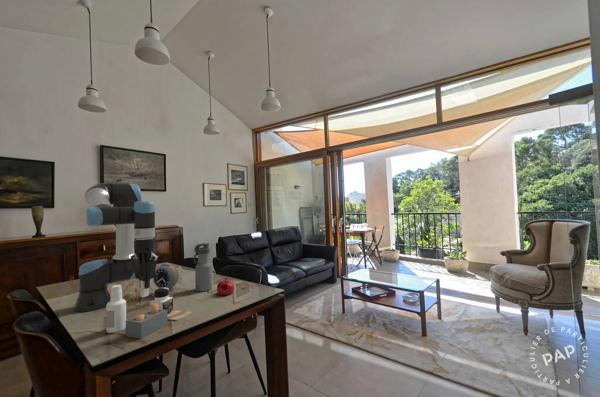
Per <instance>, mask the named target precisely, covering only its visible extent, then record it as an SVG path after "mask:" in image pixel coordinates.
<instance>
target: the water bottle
mask: <svg viewBox="0 0 600 397" xmlns="http://www.w3.org/2000/svg"><path fill="white" fill-rule="evenodd" d="M193 249H194V253H195V254H194V255H193V263H194V264H195V268H194V269H195V270H194V271H195V274H194V275H195V285H194V286H195V291H197V292H208V291H211V290H212V289H213V264H212V263H211V262H210V252H211V250H210V243H205V242H203V243H198V244H196V245H195V246H194V248H193ZM196 256H197V261H196Z"/></svg>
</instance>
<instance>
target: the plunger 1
mask: <svg viewBox="0 0 600 397" xmlns="http://www.w3.org/2000/svg"><path fill="white" fill-rule="evenodd" d="M135 316H136V321H141V320H143V319H144V315H143V314H142V315H139V314H137V315H135Z"/></svg>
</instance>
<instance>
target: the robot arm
mask: <svg viewBox="0 0 600 397" xmlns="http://www.w3.org/2000/svg"><path fill="white" fill-rule="evenodd" d="M84 199H85V202H86V204H88V205H89V207H87V208H86V210H85V211H86V212H85V222H86V225H87V226H90V227H91V226H96V227H98V226H113V225H116V226H115V227H116V228H115V254H114V255H113V256H112V259H111V261H110V260H109V261H108V259H106V258H103V259H102V258H101V259H95V260H91V261H88V262H85V263H82V264H81V265H80V266H79V268H78V270H79V272H78V276H79V277H78V279H79V281H78V282H79V283H78V296H77V298H76V301H75V304H74V308H73V309H74V311H75V312H78V313H81V312H82V313H83V312H84V313H85V312H92V311H96V310H99V309H103V308H106V305H107V303H109V302H110V301H111V293H110V292H109V290H108V284H114V283H120V282H125V281H127V282H129V281H131V280H134V279H138V281H139V288H140V292H139V293H140V294H139V295H140V298H145V297H148V296H149V295H150V286H151V279H152V280H153V278H154V275H155V271H156V269H157V264H158V260H159V259H160V255H156V254H155V250H154V248H155V247H156V239H155V237H156V228H155V227H156V206H155V202H154V201H151V200H149V201H143V196H142V191H141V188H140V186H139V185H138V184H137V183H136V184H135V183H130V182H129V183H121V182H120V183H118V182H102V183H98V184H95V185H92V186H91V187H89V188H88V189H87V190H86V191H85V193H84Z"/></svg>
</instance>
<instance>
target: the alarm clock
mask: <svg viewBox="0 0 600 397" xmlns="http://www.w3.org/2000/svg"><path fill="white" fill-rule="evenodd" d="M179 278H180V273H179V270H178V269H177V267H176V266H174V265H172V263H169V262H167V263H162V264H161V265H160V266H158V267H156V270H155V275H154V278H152V280H153V284H154V285H155V287H157V289H159V288H168V289H169V297H173V296H175V295H176V294H179V293H180V292H182V290H178V289H176V288H174V287H175V286H176V285H177V283H178V281H179ZM151 297H155V293H153V294H151Z"/></svg>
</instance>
